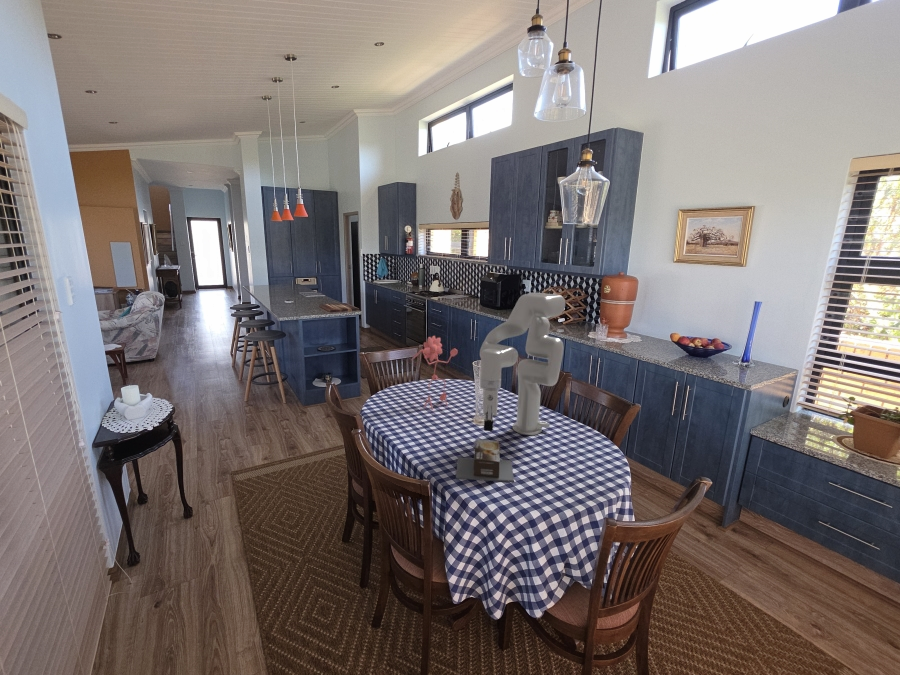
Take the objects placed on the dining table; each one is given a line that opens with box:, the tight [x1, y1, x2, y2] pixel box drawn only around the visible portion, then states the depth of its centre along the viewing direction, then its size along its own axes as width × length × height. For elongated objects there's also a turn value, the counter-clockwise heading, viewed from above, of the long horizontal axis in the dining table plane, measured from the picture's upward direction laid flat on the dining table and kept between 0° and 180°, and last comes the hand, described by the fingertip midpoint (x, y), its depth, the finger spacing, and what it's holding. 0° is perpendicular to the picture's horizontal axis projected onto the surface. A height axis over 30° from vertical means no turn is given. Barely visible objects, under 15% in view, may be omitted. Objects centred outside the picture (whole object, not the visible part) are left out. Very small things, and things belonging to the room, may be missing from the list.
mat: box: [455, 457, 515, 483], centre depth 158 cm, size 20×14×1 cm
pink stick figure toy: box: [410, 335, 459, 411], centre depth 217 cm, size 15×26×35 cm, turn 131°
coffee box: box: [473, 439, 501, 478], centre depth 159 cm, size 9×6×16 cm
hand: (488, 430), depth 162 cm, fingers closed
